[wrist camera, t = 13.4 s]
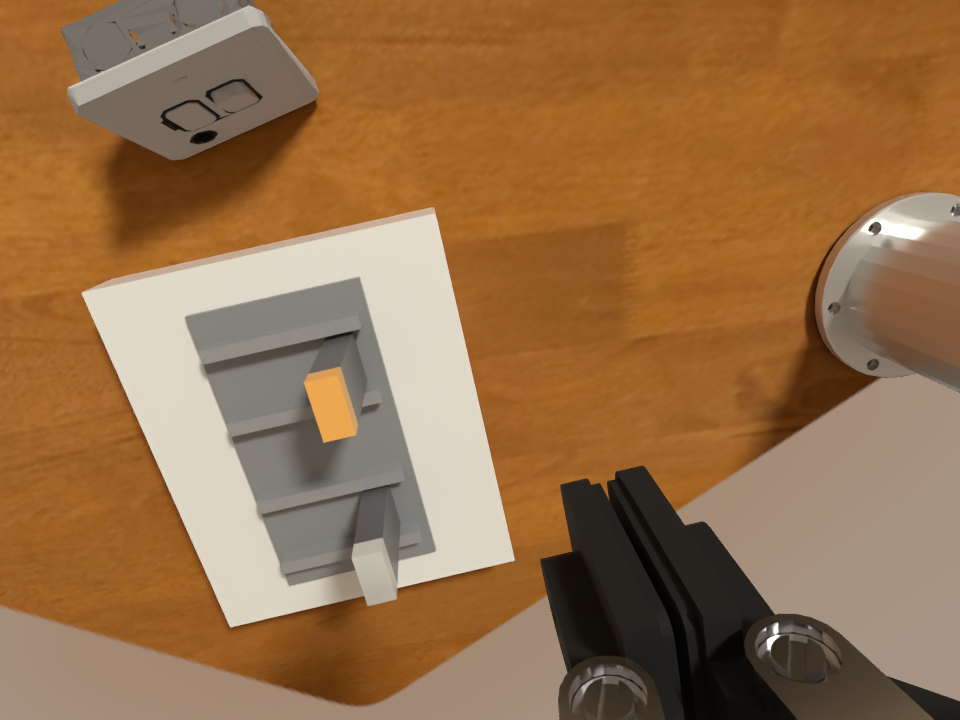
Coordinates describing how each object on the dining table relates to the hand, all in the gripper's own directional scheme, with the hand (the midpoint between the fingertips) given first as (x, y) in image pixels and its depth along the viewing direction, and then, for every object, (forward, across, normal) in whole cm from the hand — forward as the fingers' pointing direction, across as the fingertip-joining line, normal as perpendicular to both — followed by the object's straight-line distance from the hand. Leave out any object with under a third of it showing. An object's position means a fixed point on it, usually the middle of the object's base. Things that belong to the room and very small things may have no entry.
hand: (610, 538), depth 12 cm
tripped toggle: (+25, +9, +3) cm, 27 cm away
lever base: (+29, +12, +8) cm, 32 cm away
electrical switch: (+29, +12, -13) cm, 34 cm away
